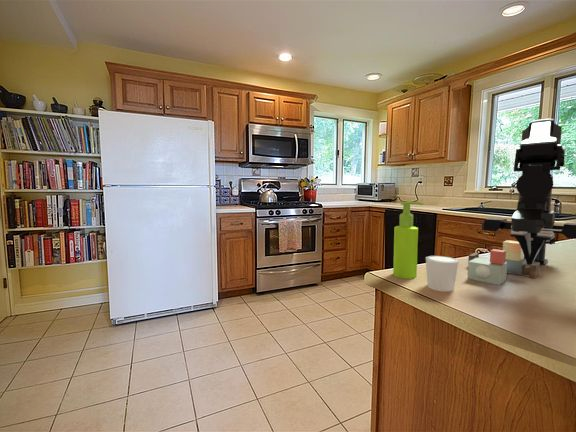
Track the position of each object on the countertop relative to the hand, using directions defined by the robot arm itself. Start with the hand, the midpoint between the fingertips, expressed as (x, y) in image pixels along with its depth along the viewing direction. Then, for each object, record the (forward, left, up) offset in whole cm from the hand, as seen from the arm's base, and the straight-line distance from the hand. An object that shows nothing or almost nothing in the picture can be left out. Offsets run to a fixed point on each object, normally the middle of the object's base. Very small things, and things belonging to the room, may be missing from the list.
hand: (529, 264), depth 67 cm
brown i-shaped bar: (-12, -8, -6) cm, 15 cm away
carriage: (-12, -6, -6) cm, 14 cm away
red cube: (0, -6, -1) cm, 6 cm away
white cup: (+15, -13, -6) cm, 21 cm away
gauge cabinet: (0, -8, -6) cm, 10 cm away
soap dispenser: (+12, -23, -6) cm, 27 cm away
